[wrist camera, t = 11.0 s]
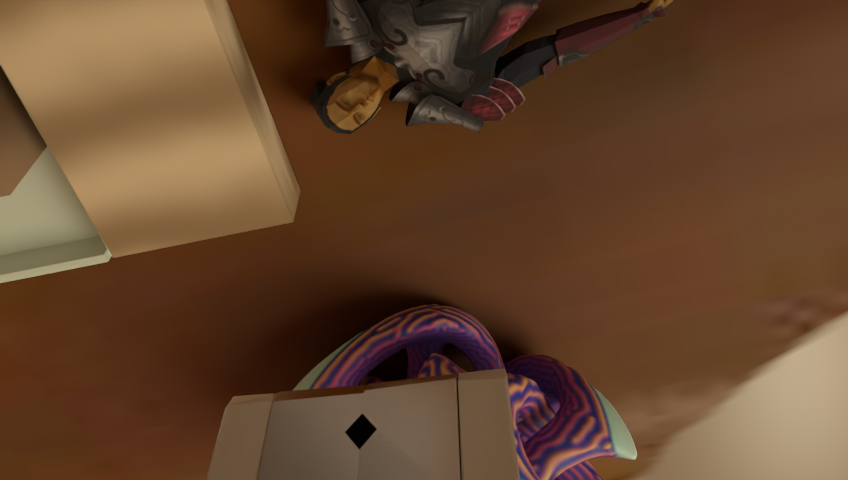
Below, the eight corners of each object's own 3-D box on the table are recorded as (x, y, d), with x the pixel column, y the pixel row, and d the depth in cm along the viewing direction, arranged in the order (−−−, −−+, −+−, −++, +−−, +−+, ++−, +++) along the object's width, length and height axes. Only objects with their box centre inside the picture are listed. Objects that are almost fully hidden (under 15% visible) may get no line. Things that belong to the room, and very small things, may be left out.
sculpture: (364, 441, 60) (641, 508, 53) (236, 618, 46) (590, 741, 39) (352, 249, 54) (664, 296, 47) (198, 386, 40) (613, 483, 33)
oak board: (-28, -61, 36) (-60, -40, 34) (182, -116, 35) (163, -98, 32) (130, 225, 45) (113, 257, 43) (300, 190, 44) (293, 222, 42)
